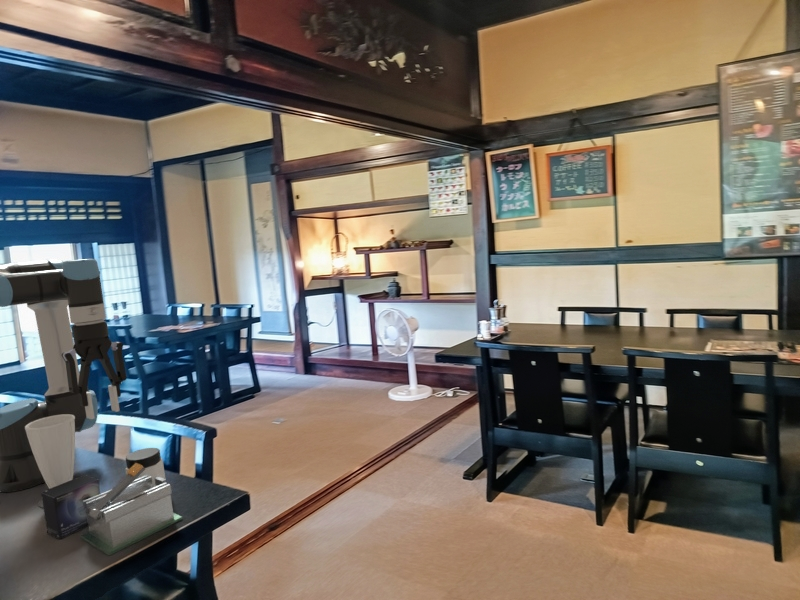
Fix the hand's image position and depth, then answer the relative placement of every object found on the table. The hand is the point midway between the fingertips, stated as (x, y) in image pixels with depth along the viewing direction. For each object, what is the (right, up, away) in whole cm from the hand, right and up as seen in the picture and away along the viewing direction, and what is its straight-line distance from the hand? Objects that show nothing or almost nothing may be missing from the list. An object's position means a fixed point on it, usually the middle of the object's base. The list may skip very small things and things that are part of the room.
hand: (103, 414), depth 134 cm
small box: (-4, -26, -5) cm, 27 cm away
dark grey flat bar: (+9, -16, -11) cm, 21 cm away
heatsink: (+11, -25, -8) cm, 29 cm away
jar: (+8, -24, +8) cm, 26 cm away
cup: (-17, -25, +12) cm, 33 cm away
